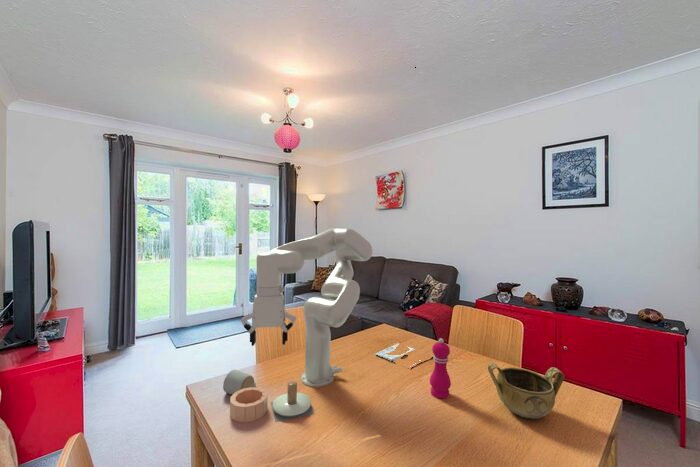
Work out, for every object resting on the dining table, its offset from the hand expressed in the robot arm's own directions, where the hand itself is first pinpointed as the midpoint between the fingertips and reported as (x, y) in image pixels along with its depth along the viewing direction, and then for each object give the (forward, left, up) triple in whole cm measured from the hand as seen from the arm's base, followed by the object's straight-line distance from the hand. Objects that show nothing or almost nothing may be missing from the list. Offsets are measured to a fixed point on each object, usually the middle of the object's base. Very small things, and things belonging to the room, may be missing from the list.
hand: (268, 343), depth 100 cm
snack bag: (-63, -19, -22) cm, 69 cm away
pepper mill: (-58, +13, -21) cm, 63 cm away
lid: (-7, +4, -20) cm, 22 cm away
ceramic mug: (+8, -13, -21) cm, 26 cm away
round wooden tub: (+6, +1, -21) cm, 22 cm away
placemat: (-7, +4, -21) cm, 22 cm away
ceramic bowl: (-77, +31, -21) cm, 86 cm away
